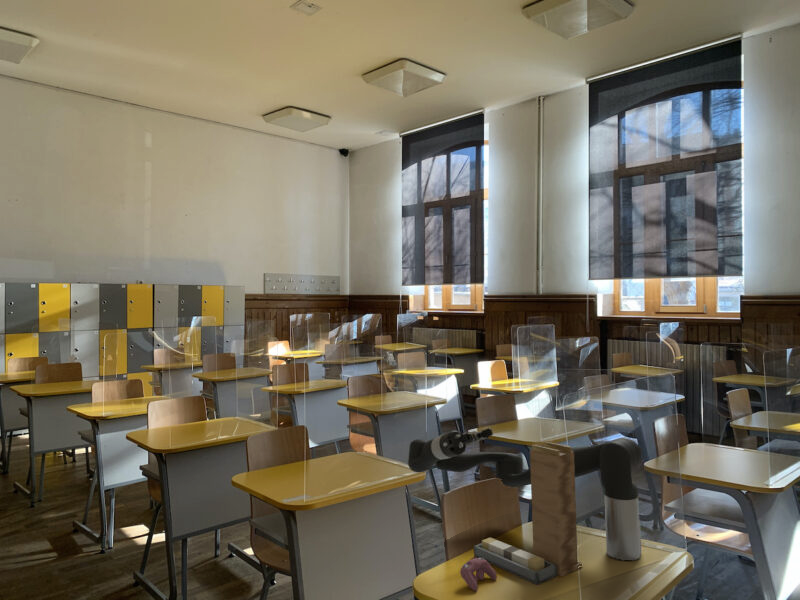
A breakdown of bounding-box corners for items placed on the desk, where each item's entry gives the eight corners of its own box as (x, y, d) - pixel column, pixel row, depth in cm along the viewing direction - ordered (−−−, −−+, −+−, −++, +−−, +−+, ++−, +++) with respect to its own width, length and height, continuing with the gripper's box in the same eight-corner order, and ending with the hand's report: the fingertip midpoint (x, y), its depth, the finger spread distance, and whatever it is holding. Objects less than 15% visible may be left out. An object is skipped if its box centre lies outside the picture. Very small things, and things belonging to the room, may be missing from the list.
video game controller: (487, 581, 161) (477, 554, 164) (499, 578, 159) (489, 551, 161) (464, 594, 154) (454, 566, 157) (476, 591, 152) (466, 563, 154)
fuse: (490, 549, 176) (490, 537, 176) (544, 572, 160) (544, 558, 160) (482, 552, 174) (481, 540, 174) (536, 576, 158) (535, 562, 158)
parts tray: (493, 548, 178) (492, 538, 178) (556, 575, 160) (556, 564, 160) (474, 556, 174) (473, 546, 174) (537, 585, 155) (537, 573, 155)
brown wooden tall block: (550, 554, 173) (546, 440, 173) (582, 566, 164) (577, 446, 165) (529, 563, 168) (525, 445, 168) (561, 576, 159) (557, 452, 159)
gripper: (427, 437, 183) (459, 425, 171) (461, 430, 192) (494, 417, 180) (434, 461, 181) (466, 450, 169) (468, 453, 190) (501, 442, 177)
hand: (481, 433), depth 174 cm, fingers open, 8 cm apart
